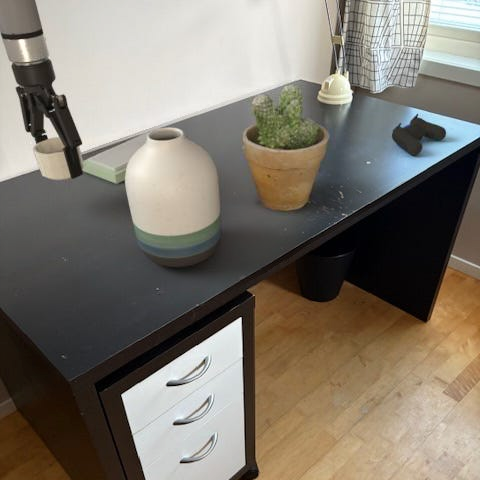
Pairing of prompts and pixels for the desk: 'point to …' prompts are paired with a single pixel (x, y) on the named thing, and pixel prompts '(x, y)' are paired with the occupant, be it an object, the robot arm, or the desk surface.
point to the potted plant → (283, 150)
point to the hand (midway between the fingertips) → (63, 170)
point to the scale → (114, 160)
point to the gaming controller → (416, 134)
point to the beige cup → (53, 159)
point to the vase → (174, 199)
